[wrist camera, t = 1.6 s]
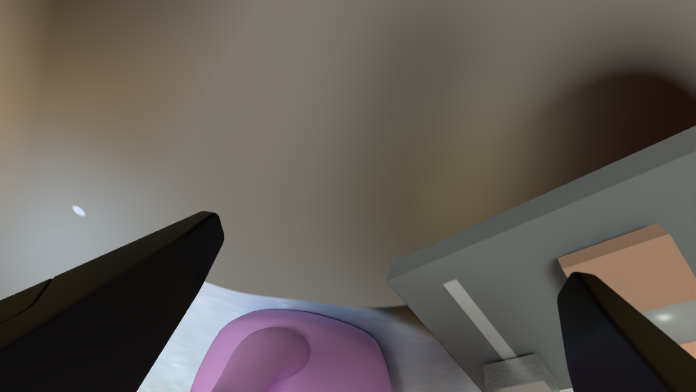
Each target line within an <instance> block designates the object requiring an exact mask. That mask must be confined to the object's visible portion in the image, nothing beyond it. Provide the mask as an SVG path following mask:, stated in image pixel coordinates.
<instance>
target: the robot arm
mask: <svg viewBox="0 0 696 392" xmlns="http://www.w3.org/2000/svg"><path fill="white" fill-rule="evenodd" d="M223 242H224V232H223V229H222V225H221V222H220V218H219V216H218V214H216V213H214V212H208V211H201V212H199V213H196V214H194V215H192V216H190V217H187V218H185V219H183V220H181V221H178V222H176V223H174V224H172V225H170V226H167V227H165V228H163V229H160V230H159V231H156V232H154V233H151V234H149V235H147V236H145V237H143V238H140V239H138V240H136V241H134V242H132V243H129V244H127V245H125V246H123V247H120V248H118V249H116V250H113V251H111V252H109V253H107V254H105V255H102V256H100V257H98V258H95V259H93V260H91V261H89V262H86V263H84V264H82V265H80V266H77V267H75V268H73V269H71V270H68V271H66V272H64V273H62V274H59V275H57V276H55V277H54V278H53V279H48V280H46V281H44V282H41V283H39V284H37V285H35V286H32V287H30V288H28V289H26V290H23V291H21V292H19V293H16V294H14V295H12V296H9V297H7V298H5V299H2V300H0V392H137V390H138V389H139V387H140V385H141V384H142V382H143V381H144V379H145V377H146V376H147V374H148V373H149V371H150V369H151V368H152V366H153V365H154V363H155V361H156V360H157V358H158V357H159V355H160V353H161V352H162V350H163V349H164V347H165V345H166V344H167V342H168V341H169V339H170V337H171V336H172V334H173V333H174V331H175V329H176V328H177V326H178V325H179V323H180V321H181V320H182V318H183V317H184V315H185V313H186V312H187V310H188V309H189V307H190V305H191V304H192V302H193V301H194V299H195V297H196V296H197V294H198V292H199V290H200V289H201V287H202V285H203V283H204V281H205V279H206V277H207V275H208V273H209V271H210V269H211V267H212V265H213V263H214V261H215V259H216V257H217V255H218V253H219V250H220V248H221V246H222V244H223ZM557 306H558V313H559V319H560V326H561V332H562V338H563V345H564V351H565V358H566V363H567V368H568V372H569V376H570V380H571V384H572V387H573V391H574V392H696V359H695V358H694V357H693V356H692V355H690V354H689V353H688V352H687V351H686V350H684V349H683V348H682V347H681V346H680V345H679V344H677V343H676V342H675V341H674V340H673V339H671V338H670V337H669V336H668V335H667V334H665V333H664V332H663V331H662V330H661V329H659V328H658V327H657V326H656V325H655V324H653V323H652V322H651V321H650V320H649V319H647V318H646V317H645V316H644V315H643V314H641V313H640V312H639V311H638V310H637V309H635V308H634V307H633V306H632V305H631V304H629V303H628V302H627V301H626V300H625V299H623V298H622V297H621V296H620V295H619V294H618V293H616V292H615V291H614V290H613V289H612V288H610V287H609V286H608V285H607V284H606V283H604V282H603V281H602V280H601V279H600V278H598V277H597V276H596V275H593V274H589V273H583V272H573V273H571V274H570V275H569V277H568V279H567V280H566V282H565V284H564V285H563V287H562V289H561V290H560V292H559V294H558V297H557Z"/></svg>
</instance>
